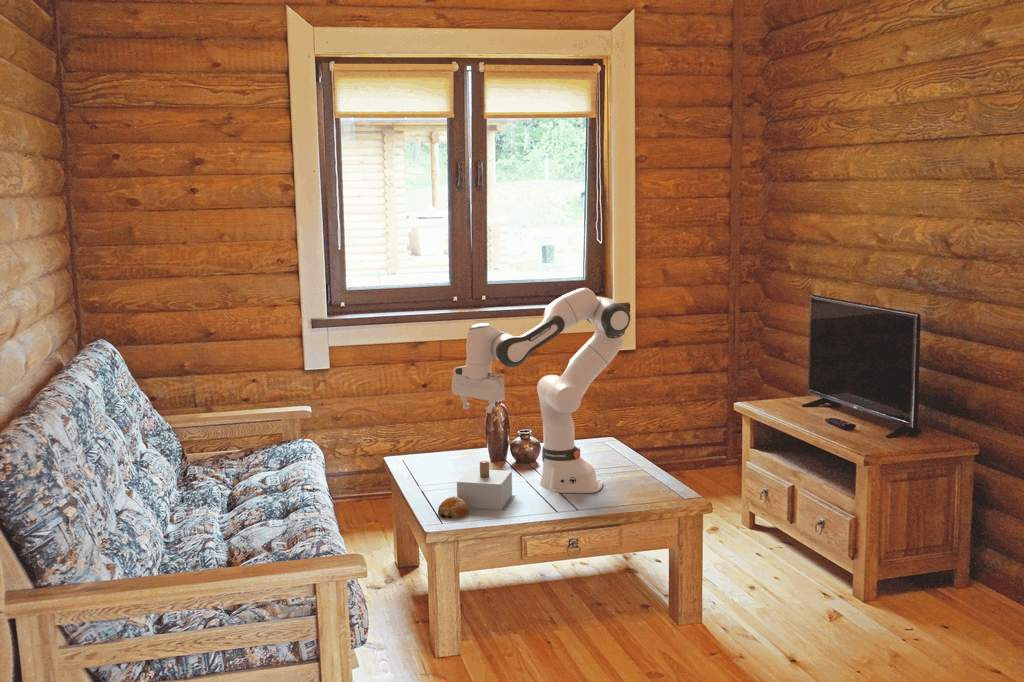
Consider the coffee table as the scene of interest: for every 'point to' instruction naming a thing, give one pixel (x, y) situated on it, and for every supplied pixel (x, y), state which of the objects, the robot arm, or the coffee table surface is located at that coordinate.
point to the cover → (485, 487)
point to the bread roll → (453, 508)
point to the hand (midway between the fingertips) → (477, 410)
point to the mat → (505, 504)
